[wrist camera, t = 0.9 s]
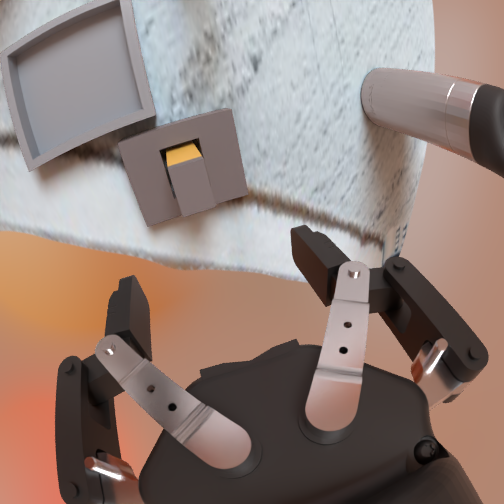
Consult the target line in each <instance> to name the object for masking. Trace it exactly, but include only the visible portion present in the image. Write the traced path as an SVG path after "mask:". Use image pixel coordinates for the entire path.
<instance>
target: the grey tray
mask: <svg viewBox="0 0 504 504" xmlns="http://www.w3.org/2000/svg"><path fill="white" fill-rule="evenodd" d="M0 62H1V69H2V76H3V81H4V87H5V92H6V97H7V101H8V106H9V110H10V114H11V118H12V121H13V125H14V128H15V132H16V135H17V138H18V142H19V145H20V148H21V151H22V154H23V157H24V159H25V162H26V165H27V168H28V170H29V172H30V171H32V170H33V169H35V168H37V167H39V166H40V165H42V164H44V163H46V162H48V161H49V160H51V159H53V158H55V157H57V156H59V155H61V154H63V153H65V152H67V151H69V150H71V149H73V148H75V147H77V146H79V145H81V144H83V143H86V142H88V141H90V140H92V139H95V138H97V137H99V136H102V135H104V134H106V133H109V132H111V131H114V130H116V129H119V128H121V127H124V126H127V125H129V124H132V123H135V122H137V121H140V120H143V119H146V118H149V117H152V116H155V115H156V111H155V107H154V103H153V99H152V95H151V91H150V87H149V83H148V79H147V75H146V71H145V66H144V62H143V57H142V53H141V48H140V43H139V39H138V34H137V29H136V24H135V18H134V13H133V8H132V2H131V0H94V1H92V2H89V3H87V4H85V5H82V6H80V7H78V8H76V9H73V10H71V11H69V12H67V13H65V14H63V15H61V16H59V17H57V18H55V19H53V20H51V21H50V22H48V23H46V24H44V25H42V26H41V27H39V28H37V29H36V30H34V31H32V32H31V33H29V34H27V35H26V36H24V37H23V38H21V39H20V40H18V41H17V42H15V43H14V44H12V45H11V46H9V47H8V48H7V49H5V50H4V51H3V52H1V53H0Z"/></svg>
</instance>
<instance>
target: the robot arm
mask: <svg viewBox="0 0 504 504" xmlns="http://www.w3.org/2000/svg"><path fill="white" fill-rule="evenodd" d="M361 99H362V105H363V108H364V111H365V113H366V115H367V116H368V118H369V119H370V120H371V121H372V122H373V123H375V124H376V125H379V126H381V127H385V128H388V129H391V130H394V131H397V132H400V133H403V134H406V135H409V136H412V137H415V138H417V139H420V140H423V141H426V142H428V143H431V144H434V145H436V146H439V147H441V148H443V149H446V150H448V151H451V152H453V153H456V154H458V155H460V156H462V157H465V158H467V159H469V160H471V161H473V162H475V163H477V164H479V165H481V166H483V167H486V168H487V169H489V170H491V171H493V172H495V173H496V174H498V175H499V176H501V177H503V178H504V89H501V88H499V87H496V86H492V85H489V84H485V83H481V82H477V81H473V80H469V79H464V78H459V77H454V76H449V75H443V74H437V73H430V72H423V71H415V70H405V69H394V68H376V69H374V70H372V71H371V72H370V73H369V74H368V75H367V76H366V78H365V79H364V82H363V85H362V90H361ZM291 245H292V256H293V259H294V262H295V264H296V266H297V267H298V269H299V270H300V271H301V273H302V274H303V275H304V277H305V278H306V280H307V281H308V282H309V284H310V285H311V287H312V288H313V289H314V291H315V292H316V294H317V295H318V297H319V298H320V299H321V301H322V302H323V304H324V305H325V306H326V307H327V306H329V305H331V309H330V314H329V319H328V324H327V328H326V333H325V337H324V341H323V346H318V345H309V344H308V345H299V343H298V341H297V339H294V340H291V341H289V342H286V343H283V344H280V345H278V346H275V347H272V348H271V349H270V350H268V351H266V352H264V353H263V354H261V355H260V356H258V357H256V358H254V359H253V360H250V361H243V362H232V363H222V364H219V365H215V366H212V367H209V368H205V369H201V370H200V374H201V377H200V378H199V379H197V380H196V381H194V382H193V383H192V384H191V385H189V386H188V387H187V388H186V389H185V390H184V389H182V388H181V387H180V386H179V385H177V384H176V383H175V382H173V381H172V380H171V379H170V378H168V377H167V376H166V375H165V374H164V373H162V372H161V371H160V370H159V369H158V368H156V367H155V366H154V365H153V364H152V363H150V362H151V361H152V351H151V334H150V312H149V311H150V310H149V304H148V301H147V298H146V296H145V294H144V292H143V290H142V288H141V286H140V285H139V282H138V280H137V278H136V277H135V276H134V275H132V276H129V277H125V278H122V279H120V281H119V288H118V291H114V292H113V294H112V295H111V297H110V299H109V304H108V311H107V320H106V328H105V337H104V338H102V339H101V340H100V341H99V342H98V344H97V346H96V349H95V354H93V355H91V356H90V357H88V358H86V359H84V360H83V361H81V360H80V359H79V358H78V357H77V356H70V357H67V358H66V359H64V360H63V361H62V363H61V364H60V366H59V369H58V376H57V390H56V408H55V440H56V441H55V443H56V461H57V472H58V482H59V489H60V494H61V497H62V499H63V500H64V502H65V503H66V504H483V503H482V501H481V499H480V498H479V496H478V494H477V492H476V490H475V489H474V487H473V485H472V483H471V481H470V480H469V478H468V476H467V475H466V473H465V471H464V470H463V468H462V466H461V465H460V463H459V462H458V460H457V459H456V458H455V457H454V456H453V455H452V454H451V453H450V452H448V451H447V450H446V449H445V448H444V447H443V446H442V445H441V444H440V443H439V442H438V441H437V439H436V438H435V436H434V434H433V431H432V427H431V423H430V417H429V411H430V410H431V409H433V408H434V407H436V406H437V405H439V404H440V403H441V402H443V403H449V402H452V401H453V400H454V399H455V398H456V397H457V396H458V395H459V394H460V393H461V392H462V391H463V390H464V389H465V388H466V387H467V386H468V385H469V384H470V383H471V382H472V381H473V380H474V379H475V378H476V376H477V375H478V374H479V373H480V372H481V371H482V370H483V368H484V367H485V366H486V365H487V362H488V352H487V349H486V347H485V346H484V345H483V343H482V342H481V341H480V340H479V338H478V337H477V336H476V334H475V333H474V332H473V331H472V330H471V328H470V327H469V326H468V325H467V324H466V322H465V321H464V320H463V319H462V318H461V316H459V314H458V313H457V312H456V311H455V309H453V307H452V306H451V305H450V304H449V303H448V302H447V301H446V299H445V298H444V297H443V296H442V295H441V294H440V293H439V292H438V291H437V290H436V289H435V288H434V286H433V285H432V284H431V283H430V282H429V281H428V280H427V279H426V278H425V277H424V276H423V275H422V274H421V273H420V272H419V271H418V270H417V269H416V268H415V267H414V266H413V265H412V264H411V263H410V262H409V261H408V260H406V259H404V258H401V257H391V258H389V259H387V260H386V262H385V266H384V267H381V268H372V269H369V268H368V267H367V266H366V265H365V264H363V263H361V262H358V261H351V260H350V259H349V258H348V257H347V256H346V255H345V254H344V253H343V252H342V251H341V250H340V249H339V248H338V247H336V245H335V244H334V243H333V242H332V241H331V240H330V239H329V238H328V237H327V236H326V235H324V234H322V233H320V232H318V231H316V232H312V231H311V229H310V228H309V227H308V226H307V225H302V226H299V227H295V228H292V229H291ZM377 312H378V313H379V315H380V316H381V317H382V319H383V320H384V321H385V323H386V324H387V326H388V327H389V328H390V329H391V331H392V333H393V334H394V335H395V337H396V338H397V340H398V341H399V343H400V344H401V345H402V347H403V348H404V350H405V351H406V353H407V354H408V356H409V357H410V359H411V360H412V362H413V364H412V365H411V374H412V376H413V379H414V382H413V381H411V380H409V379H407V378H404V377H401V376H398V375H395V374H392V373H390V372H387V371H384V370H382V369H379V368H377V367H374V366H371V365H369V364H366V363H364V356H365V348H366V339H367V329H368V317H369V314H370V313H377ZM124 391H126V392H127V393H128V394H129V395H130V396H131V397H132V398H133V399H134V400H135V401H136V402H137V403H138V404H139V405H140V406H141V407H142V408H143V409H144V410H145V411H146V412H147V413H148V414H149V415H150V416H151V417H152V418H153V419H154V420H156V422H158V423H159V424H160V425H161V426H162V427H163V428H164V429H163V431H162V433H161V434H160V436H159V438H158V440H157V442H156V444H155V446H154V448H153V450H152V451H151V453H150V455H149V457H148V459H147V461H146V463H145V465H144V467H143V469H142V470H141V473H140V476H139V480H138V479H137V478H136V476H135V475H134V472H133V470H132V468H131V466H130V465H129V464H128V463H127V462H125V461H123V460H122V459H121V453H120V447H119V441H118V434H117V427H116V417H115V408H114V397H115V396H116V395H118V394H120V393H122V392H124Z"/></svg>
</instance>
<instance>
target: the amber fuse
mask: <svg viewBox="0 0 504 504" xmlns="http://www.w3.org/2000/svg"><path fill="white" fill-rule="evenodd" d="M166 156H167V166H168V172H169V175H170V178H171V181H172V185H173V188H174V191H175V194H176V197H177V200H178V203H179V207H180V210H181V213H182V216H183V217H186V216H189V215H192V214H195V213H198V212H201V211H205V210H208V209H211V208H214V207H216V205H215V201H214V197H213V193H212V189H211V185H210V182H209V178H208V174H207V170H206V166H205V162H204V158H203V157H202V155H201V154H200V152H199V151H198V149H197V148H196V146H195V145H194V143H193V142H192V141H190V142H187V143H183V144H180V145H177V146H174V147H170V148H167V149H166Z"/></svg>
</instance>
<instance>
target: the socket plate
mask: <svg viewBox="0 0 504 504" xmlns="http://www.w3.org/2000/svg"><path fill="white" fill-rule="evenodd" d="M196 138H197V141H198V145H199V149H200V153H201V155H202V157H203V158H204V162H205V166H206V170H207V174H208V178H209V182H210V185H211V189H212V193H213V197H214V201H215V204H218V203H222V202H225V201H228V200H231V199H235V198H238V197H241V196H245V195H248V190H247V185H246V179H245V174H244V169H243V164H242V159H241V154H240V149H239V144H238V139H237V134H236V129H235V124H234V119H233V114H232V109H228V108H224V109H220V110H215V111H211V112H207V113H203V114H199V115H196V116H192V117H188V118H185V119H181V120H178V121H175V122H171V123H168V124H165V125H162V126H159V127H155V128H152V129H150V130H147V131H144V132H141V133H138V134H135V135H133V136H130V137H127V138H125V139H122V140H120V141H119V143H118V147H119V150H120V153H121V156H122V160H123V162H124V165H125V168H126V171H127V174H128V177H129V180H130V183H131V185H132V188H133V191H134V194H135V196H136V199H137V202H138V204H139V207H140V209H141V212H142V214H143V217H144V220H145V222H146V224H147V227H149V226H152V225H154V224H157V223H160V222H163V221H166V220H169V219H172V218H175V217H178V216H181V215H182V213H181V210H180V207H179V203H178V200H177V197H176V194H175V191H173V189H172V186H171V183H170V180H169V177H168V173H167V170H166V167H165V164H164V160H163V157H162V153H161V149H164V148H167V147H170V146H173V145H176V144H180V143H183V142H186V141H190V140H193V139H196Z"/></svg>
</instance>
